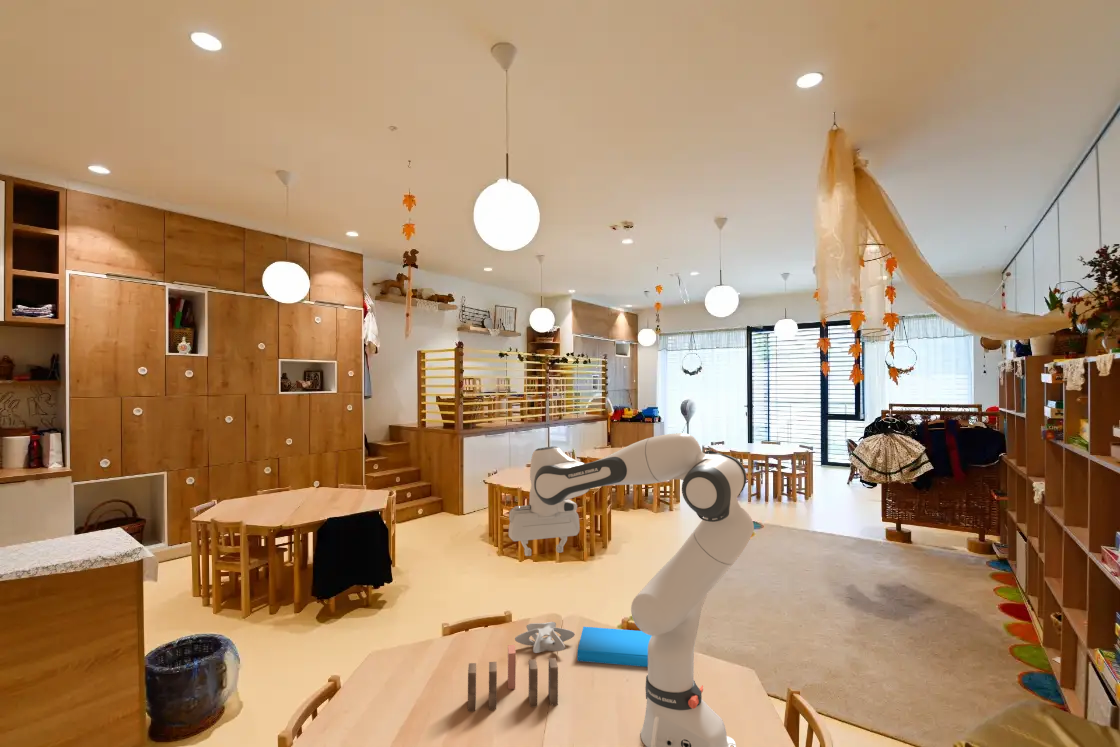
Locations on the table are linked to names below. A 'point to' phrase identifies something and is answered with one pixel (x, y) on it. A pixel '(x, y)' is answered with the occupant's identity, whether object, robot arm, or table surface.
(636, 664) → the book
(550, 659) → the tile
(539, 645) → the sculpture
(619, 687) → the table surface
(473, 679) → the tile
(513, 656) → the tile
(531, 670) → the tile
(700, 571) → the robot arm
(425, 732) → the table surface
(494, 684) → the tile
